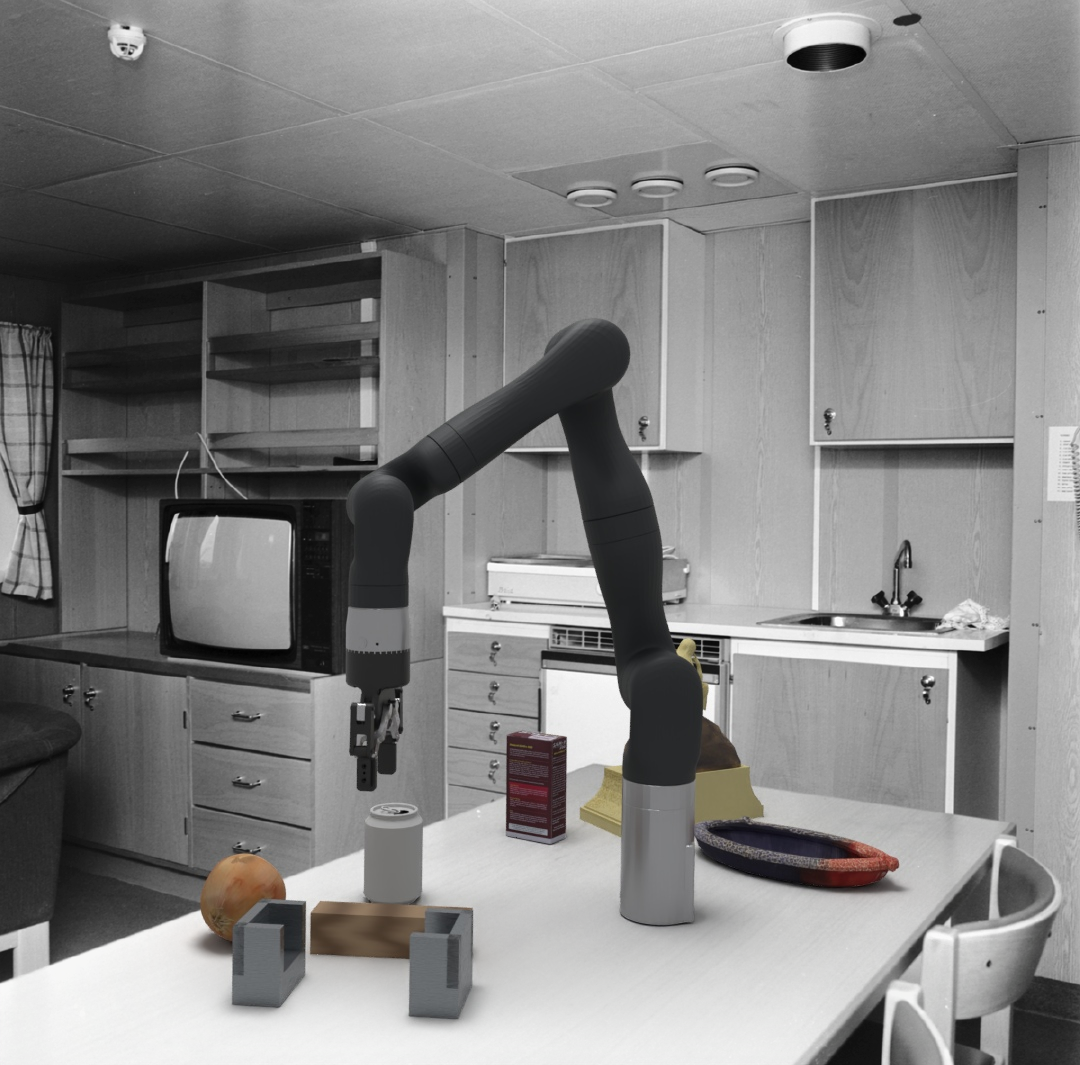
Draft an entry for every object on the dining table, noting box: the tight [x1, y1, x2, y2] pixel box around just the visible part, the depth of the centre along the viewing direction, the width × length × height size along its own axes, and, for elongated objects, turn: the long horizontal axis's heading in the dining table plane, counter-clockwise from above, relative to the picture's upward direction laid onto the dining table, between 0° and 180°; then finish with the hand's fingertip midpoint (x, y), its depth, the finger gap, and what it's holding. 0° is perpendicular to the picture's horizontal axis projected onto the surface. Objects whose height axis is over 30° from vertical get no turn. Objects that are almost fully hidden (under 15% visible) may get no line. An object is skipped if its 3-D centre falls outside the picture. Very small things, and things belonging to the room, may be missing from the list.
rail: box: [309, 900, 474, 960], centre depth 133 cm, size 18×4×5 cm, turn 85°
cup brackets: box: [231, 899, 474, 1020], centre depth 121 cm, size 23×8×8 cm, turn 84°
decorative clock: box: [579, 637, 764, 838], centre depth 191 cm, size 28×13×30 cm, turn 120°
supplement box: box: [505, 730, 568, 845], centre depth 179 cm, size 9×5×16 cm, turn 58°
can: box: [363, 802, 424, 905], centre depth 150 cm, size 8×8×12 cm
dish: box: [694, 816, 900, 888], centre depth 165 cm, size 16×31×5 cm, turn 51°
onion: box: [200, 853, 287, 942], centre depth 136 cm, size 10×10×10 cm
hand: (377, 782), depth 137 cm, fingers open, 8 cm apart
